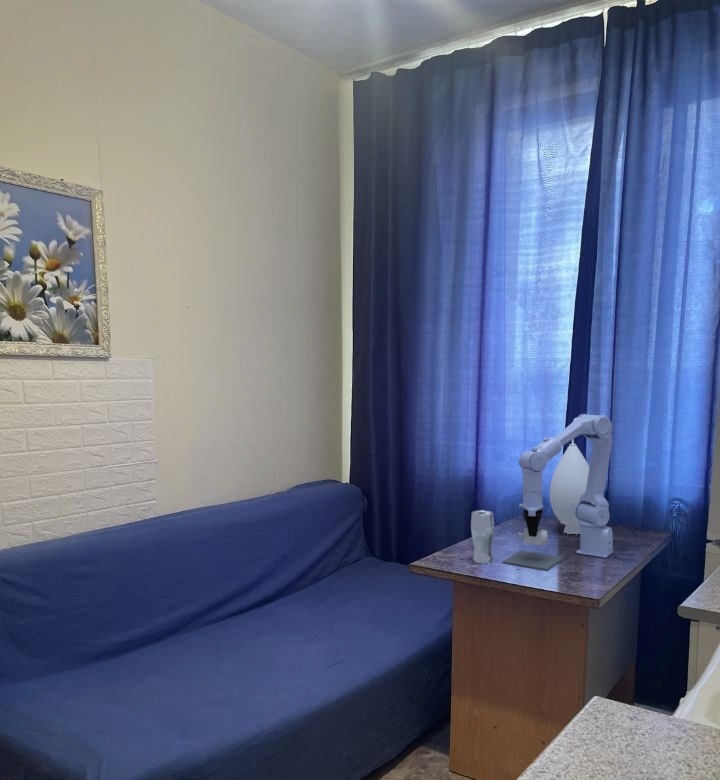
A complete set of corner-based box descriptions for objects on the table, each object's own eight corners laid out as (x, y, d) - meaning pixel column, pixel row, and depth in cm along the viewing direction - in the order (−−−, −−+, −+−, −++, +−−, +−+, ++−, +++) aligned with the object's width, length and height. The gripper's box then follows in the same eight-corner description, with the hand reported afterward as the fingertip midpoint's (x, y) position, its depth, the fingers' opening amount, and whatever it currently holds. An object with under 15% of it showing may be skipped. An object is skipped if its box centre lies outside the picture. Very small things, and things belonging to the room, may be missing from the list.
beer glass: (467, 559, 200) (466, 511, 200) (486, 556, 203) (486, 509, 202) (479, 565, 194) (478, 516, 193) (498, 562, 196) (498, 513, 196)
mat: (563, 559, 198) (563, 557, 198) (547, 571, 187) (547, 569, 187) (520, 552, 207) (520, 550, 207) (502, 563, 195) (502, 561, 195)
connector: (547, 542, 197) (547, 529, 197) (546, 545, 194) (547, 532, 194) (518, 540, 200) (518, 527, 200) (517, 543, 196) (518, 530, 196)
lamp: (541, 533, 231) (540, 435, 230) (565, 525, 241) (564, 432, 240) (582, 541, 219) (582, 438, 218) (605, 532, 230) (604, 435, 229)
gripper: (520, 485, 204) (520, 528, 205) (517, 494, 190) (518, 539, 191) (543, 486, 202) (543, 529, 203) (542, 495, 188) (543, 541, 189)
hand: (533, 534), depth 197 cm, fingers closed on connector, 3 cm apart
